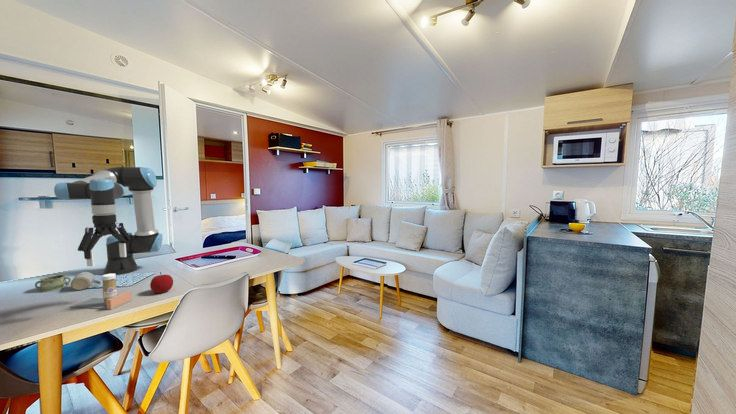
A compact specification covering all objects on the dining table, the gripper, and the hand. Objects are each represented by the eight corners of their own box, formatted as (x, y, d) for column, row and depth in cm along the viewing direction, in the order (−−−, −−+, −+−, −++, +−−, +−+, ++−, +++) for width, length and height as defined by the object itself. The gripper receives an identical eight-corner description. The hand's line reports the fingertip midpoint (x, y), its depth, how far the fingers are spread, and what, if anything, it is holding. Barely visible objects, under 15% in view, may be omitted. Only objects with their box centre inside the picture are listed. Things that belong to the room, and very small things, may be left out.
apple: (149, 296, 130) (148, 276, 129) (152, 290, 137) (151, 271, 137) (172, 292, 135) (171, 273, 134) (174, 286, 142) (173, 268, 141)
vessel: (34, 294, 130) (33, 282, 130) (36, 289, 136) (35, 277, 136) (70, 288, 139) (69, 276, 138) (71, 283, 145) (70, 272, 144)
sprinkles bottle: (107, 306, 118) (105, 276, 117) (101, 304, 120) (99, 275, 119) (119, 302, 123) (117, 273, 121) (114, 300, 124) (112, 272, 123)
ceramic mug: (70, 292, 134) (69, 277, 133) (74, 287, 140) (73, 272, 139) (99, 288, 140) (99, 273, 139) (102, 283, 146) (102, 269, 146)
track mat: (93, 298, 127) (92, 289, 127) (131, 300, 125) (130, 291, 125) (70, 306, 118) (69, 297, 118) (111, 309, 116) (110, 300, 116)
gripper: (124, 210, 130) (127, 253, 133) (61, 217, 106) (66, 270, 108) (138, 211, 130) (141, 254, 132) (78, 218, 105) (83, 271, 107)
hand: (107, 261), depth 120 cm, fingers open, 13 cm apart
